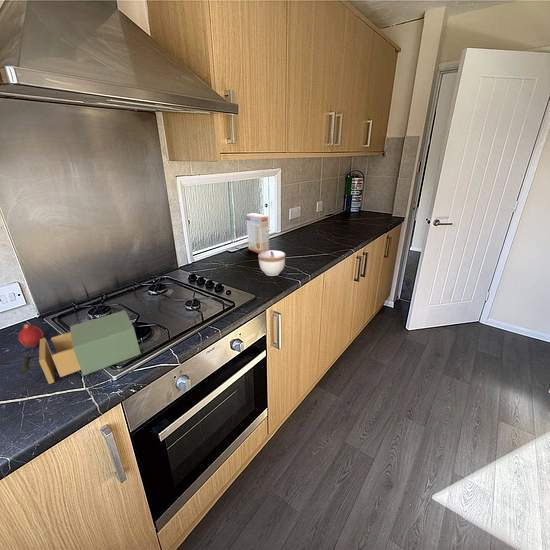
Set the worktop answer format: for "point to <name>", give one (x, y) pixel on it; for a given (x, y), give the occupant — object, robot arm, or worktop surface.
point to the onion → (30, 335)
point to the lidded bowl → (272, 262)
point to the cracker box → (257, 232)
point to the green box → (104, 342)
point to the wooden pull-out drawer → (54, 358)
